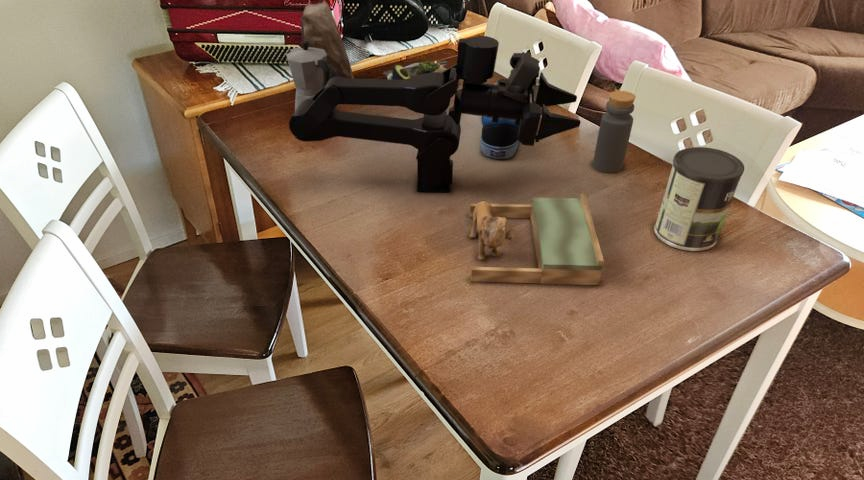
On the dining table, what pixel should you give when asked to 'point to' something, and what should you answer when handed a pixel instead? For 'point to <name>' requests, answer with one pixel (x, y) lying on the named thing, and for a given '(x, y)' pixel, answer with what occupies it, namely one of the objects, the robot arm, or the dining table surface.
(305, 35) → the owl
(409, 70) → the salad plate
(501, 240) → the lion figurine
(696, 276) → the dining table surface
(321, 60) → the coffeepot
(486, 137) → the shoe
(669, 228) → the coffee can
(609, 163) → the bottle
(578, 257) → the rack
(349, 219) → the dining table surface
